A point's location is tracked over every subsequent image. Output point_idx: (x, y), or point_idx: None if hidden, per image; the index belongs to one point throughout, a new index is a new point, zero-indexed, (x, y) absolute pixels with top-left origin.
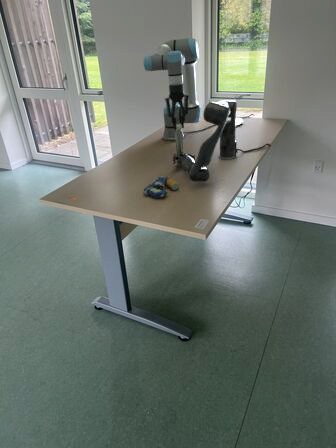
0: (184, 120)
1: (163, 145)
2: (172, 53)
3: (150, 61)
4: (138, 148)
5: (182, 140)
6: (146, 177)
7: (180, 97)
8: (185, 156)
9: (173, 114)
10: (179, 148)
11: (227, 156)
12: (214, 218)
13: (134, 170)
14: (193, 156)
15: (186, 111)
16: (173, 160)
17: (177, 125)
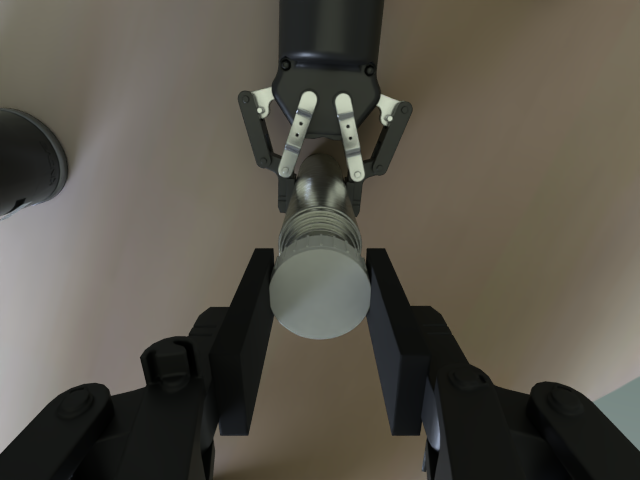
0: (209, 315)
1: (295, 458)
2: None
3: None
4: (409, 475)
5: (300, 195)
6: (564, 110)
7: None
8: (341, 25)
9: (472, 425)
10: (334, 178)
11: (12, 115)
12: None
13: (561, 243)
14: (251, 94)
15: (57, 443)
16: (409, 103)
17: (335, 297)
